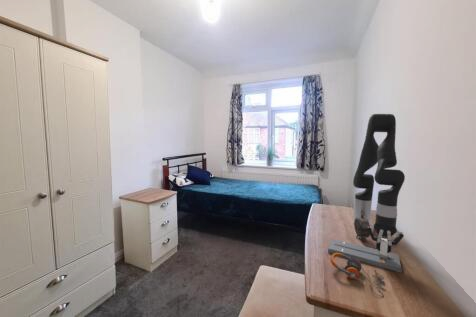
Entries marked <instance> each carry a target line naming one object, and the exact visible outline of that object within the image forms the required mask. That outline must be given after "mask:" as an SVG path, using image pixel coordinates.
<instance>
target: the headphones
mask: <svg viewBox="0 0 476 317" xmlns="http://www.w3.org/2000/svg"><path fill="white" fill-rule="evenodd" d="M334 258H344V259H345V260H347V261H346V265H345V267H344V269H343V268H342V267H340V266H339V265H338V263H336V261H335V260H334ZM330 262H331V265H332V266H333V267H334V268H336V269H337V270H338V271H340V272H341V273H344V274H345V275H346V276H347V277H348V278H349V279H351V280H356V279H366V280H367V281H368V285H369V289H370V291H371V292H372V293H373V294H375V295H376V296H378V297H381V295H382V296H383V295H384V293H383V292H382V291H381V290H383V291H384V290H385V292H387V290H386V289H385V288H384V287H382V286H385V284H386V282H385V281H384V280H383V279H384V277H383V275H382V274H381V275H380V273H378V272H376V271H377V270H376V268H375V269H374V270H373V271H374V274H372V275H371V276H372V277H373V278H374V279H376V280H375V281H373V282H371V278H370V276H369V275H368V273H367V272H366V270H365V269H364V268H363V267H362V263H361V261H358V260H357V259H354V258H349V257H347V256H345V255H343V254H341V253H334V254H331V255H330ZM361 270H362V271H363V272H364V273H365V274H366V275H367V277H365V276H363V277H360V275H361ZM375 273H376V274H375ZM371 283H373V285H374V284H375V285H376V286H377V287H376V289H377V291H379V292H380V293H381V295H380V294H377V293H376V292H374V291H373V289H371ZM380 289H381V290H380Z"/></svg>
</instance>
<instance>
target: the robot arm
mask: <svg viewBox="0 0 476 317" xmlns="http://www.w3.org/2000/svg"><path fill="white" fill-rule="evenodd" d="M396 123H397V122H396V117H395V115H394V114H393V113H373V114H371V115H370V117H369V119H368V123H367V128H366V134H365V137H364V138H365V139H364V142H363V146H362V149H361V153H360V156H359V161H358V165H357V168H356V171H355V174H354V177H353V181H352V183H353V186H354V188H357V189H363V191H359V192H357V193H355V195H354V207H353V208H354V209H353V210H354V211H353V223H354V222H355V219H356V217H361V213H362V215H363V211H364V215H363V217H366V218H367V220H368V222H369V225H370V226H368V231H369V233H370V236H369V237H371V240H372V241H374V242H376V243H375V244H376V246H375V249H377V250H378V251H380V240H381V238H383V237H385V238H386V239H387V241H388V248H387V253H392V246H397V245H398V244H399V243H400V241H402V240H403V238H404V237H405V236H404V233H403V232H402V231H401V232H400V231H399V230H398V229H397V219H398V199H399V193H400V192H401V188H402V187H403V185H404V182H405V178H406V176H405V174H404V171H402V170H400V169H390V168H393V167H396V165H397V163H398V159H397V153H396V132H397V131H396V130H397V129H396V128H397V124H396ZM375 133H386V137H385V138H383V141H382V142H381V143H380V144H378V142H377V140H376V139H375ZM376 165H377V166H376ZM374 166H376V171H375V174H374V176H373V174H367V173H366V172H368V170H370V169H372V168H373V167H374ZM375 182H376V184H377V185H381V186H391V187H390V188H388V189H380V190H379V191H378V192H377V204H376V208H375V219H374V220H375V221H374V224H373V225H372V226H371V219H372V218H371V217H372V202H373V192H374V186H375ZM361 210H363V211H362V212H361ZM374 230H375V232H376V233H377V237H376V236H375V234H374ZM394 235H395V236H396V237H395V238H394V239H393V240H392V236H394Z"/></svg>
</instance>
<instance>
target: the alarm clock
mask: <svg viewBox="0 0 476 317" xmlns="http://www.w3.org/2000/svg"><path fill="white" fill-rule="evenodd" d="M362 211H363V210H361V212H362ZM363 215H364V211H363ZM363 215H362V213H361V217H356V219H355V222H354V221H353V222H354V224H353V225H354V230H355V234H356V236H355V238H356V239H357V238H363V239H364V242H365V243H367V239H369V238H370V237H371V236H370V233H369V231H368V226H371V224H370V225H369V222H368V220H367V218H366V217H363Z"/></svg>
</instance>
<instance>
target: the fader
mask: <svg viewBox="0 0 476 317" xmlns="http://www.w3.org/2000/svg"><path fill="white" fill-rule="evenodd" d="M387 248H388V239H387V238H383V237H381V240H380V251H379V257H381V258H384V259H387V258H388V256H387Z"/></svg>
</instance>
